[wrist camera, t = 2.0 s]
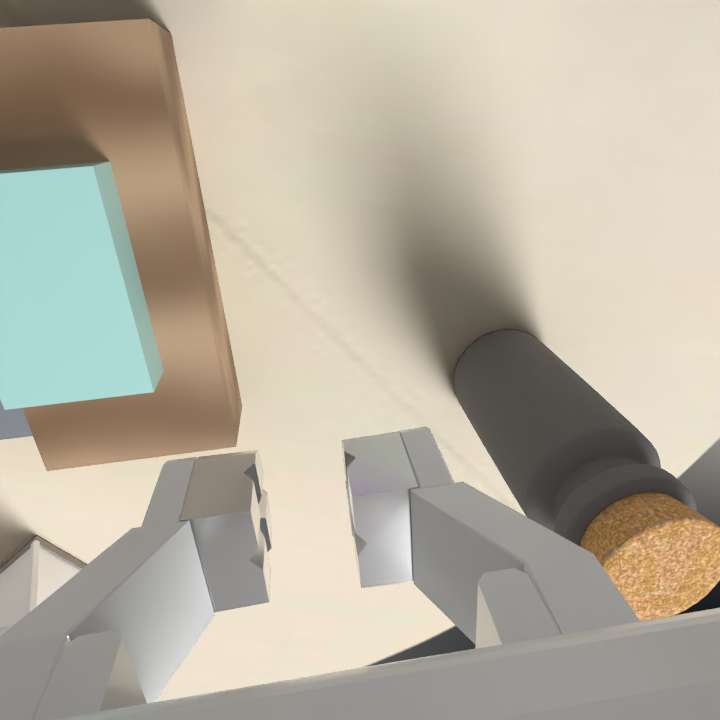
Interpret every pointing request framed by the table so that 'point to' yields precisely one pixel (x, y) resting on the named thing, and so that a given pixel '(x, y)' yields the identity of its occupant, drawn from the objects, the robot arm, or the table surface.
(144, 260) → the brown wooden block
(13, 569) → the skyscraper
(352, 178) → the table surface
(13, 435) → the mat
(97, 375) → the teal rectangular block
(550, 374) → the bottle
